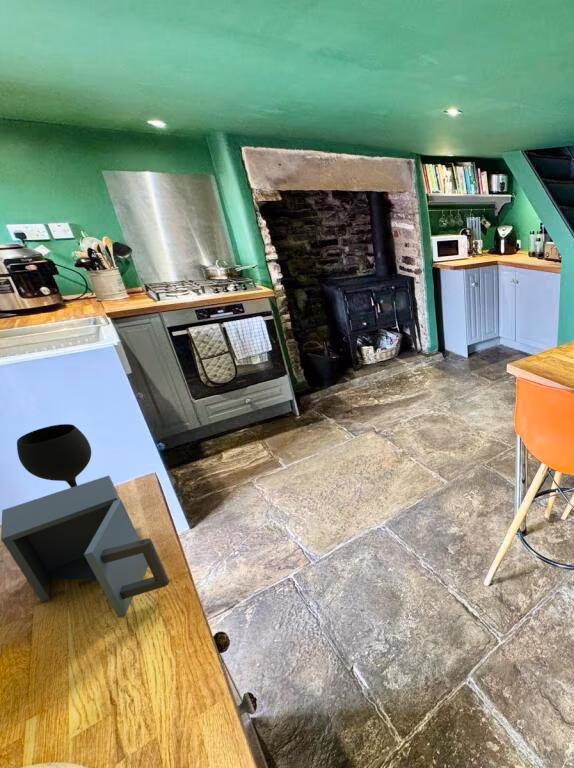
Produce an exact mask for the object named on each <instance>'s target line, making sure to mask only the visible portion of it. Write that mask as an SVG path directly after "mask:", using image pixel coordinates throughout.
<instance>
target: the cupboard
mask: <svg viewBox="0 0 574 768" xmlns="http://www.w3.org/2000/svg"><path fill="white" fill-rule="evenodd" d="M116 500H121V498H120V496H119V494H118V491H117V489H116V487H115V485H114V482H113V480H112V478H111V476H110V475H106V476H102V477H100V478H97V479H93V480H91V481H88V482H84V483H81V484H77V486H75V487H72V488H71V487H69V488H66V489H63V490H60V491H56V492H54V493H51V494H48V495H45V496H41V497H38V498H35V499H32V500H28V501H26V502H23V503H20V504H17V505H14V506H10V507H8V508H4V509H2V510H1V530H0V531H1V532H0V540H1V542H2V543H3V545H4V546H5V548H6V550H7V551H8V552H9V554H10V555H11V558H12V559H13V560H14V562H15V563H16V565H17V566H18V568H19V570H20V571H21V573H22V574H23V576H24V577H25V579H26V580H27V582H28V584H29V585H30V586H31V588H32V590H33V592H34V593H35V594H36V596H37V598H38V599H39V601H40V602H41V603H43V602H45V601H47V600H49V599H50V586H49V580H77V581H78V580H80V581H81V580H82V581H98V579H97V578H96V576H95V574H94V572H93V570H92V569H91V567H90V565H89V563H88V561H87V559H86V558H85V556H84V553H85V552H86V550H87V548H88V546H89V545H90V543H91V541H92V539H93V537H94V536H95V534H96V532H97V530H98V529H99V527H100V525H101V523H102V522H103V520H104V518H105V516H106V514H107V513H108V511H109V509H110V507H111V506H112V504H113V502H114V501H116Z"/></svg>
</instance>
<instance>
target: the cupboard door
mask: <svg viewBox="0 0 574 768" xmlns="http://www.w3.org/2000/svg"><path fill="white" fill-rule="evenodd" d="M84 556H85V558H86V559H87V561H88V563H89V565H90V567H91V569H92V570H93V572H94V574H95V576H96V578H97V579H98V580H97V581H98V583H99V585H100V587H101V589H102V590H103V593H104V594H105V597H106V598H107V600H108V601H109V603H110V605H111V608H112V609H113V610H114V613H115V614H116V616H117V618H121V617H125V616H126V615H127V613H128V612H129V611H128V610H129V609H130V605H131V602H132V600H133V598H134V597H136V596H139V595H143V594H146V593H148V592H152V591H155V590H159V589H162V588H165V587H167V586H168V585H169V584H170V583H171V581H170V578H169V577H168V574H167V571H166V569H165V568H164V565H163V563H162V560H161V558H160V556H159V554H158V552H157V549H156V548H155V545H154V543H153V541H152V539H151V538H149V537H148V538H144V539H140V537H139V535H138V533H137V531H136V528H135V526H134V524H133V522H132V519H131V518H130V516H129V514H128V512H127V509H126V507H125V504H124V502H123V501H122V499H120V500H116V501H114V502H113V504H112V506H111V507H110V509H109V511H108V513H107V514H106V516H105V518H104V520H103V522H102V523H101V525H100V527H99V529H98V530H97V532H96V534H95V536H94V537H93V539H92V541H91V543H90V545H89V546H88V548H87V550H86V552H85V553H84ZM148 567H149V570H150V572H151V574H152V576H151V577H148V578H145V575H146V573H147V570H148Z"/></svg>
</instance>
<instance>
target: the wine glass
mask: <svg viewBox="0 0 574 768" xmlns="http://www.w3.org/2000/svg"><path fill="white" fill-rule="evenodd" d="M16 450H17V451H16V452H17V456H18V459H19V461H20V463H21V465H22V467H23V468H24V469H25V470H26V471H27V472H28V473H30V474H31V475H33V476H34V477H37V478H39V479H43V480H47V481H54V482H55V481H56V482H66V483H67V485H69V488H72V487H75V486H78V483H77V480H76V479H77V477H78V476H79V475H80V474H81V473H83V471H84V470H85V469H86V468H87V467H88V465H89V463H90V461H91V458H92V448H91V444H90V442H89V440H88V438H87V437H86V435H84V433H83V432H82V431H81V430H80V429H79V428H78V427H77V426H75V425H74V424H70V423H62V424H55V425H50V426H45V427H41V428H38V429H35V430H32V431H30V432H28V433H24V434H23V435H22V436H20V437H19V438H18V439H17V440H16Z"/></svg>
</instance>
